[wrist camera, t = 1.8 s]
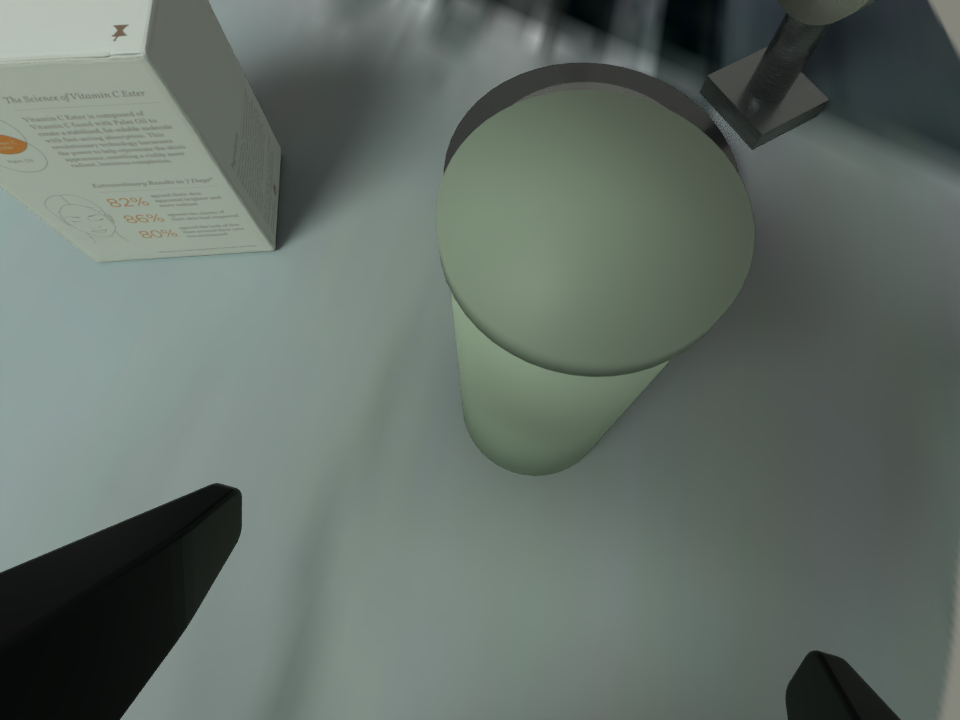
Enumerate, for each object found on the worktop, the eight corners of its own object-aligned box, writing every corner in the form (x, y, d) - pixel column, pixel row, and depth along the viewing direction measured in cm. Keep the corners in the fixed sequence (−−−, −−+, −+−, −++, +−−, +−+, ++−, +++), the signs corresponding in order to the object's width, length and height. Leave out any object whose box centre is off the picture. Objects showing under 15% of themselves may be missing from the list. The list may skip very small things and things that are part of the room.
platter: (505, 360, 24) (506, 349, 22) (408, 121, 28) (404, 101, 27) (785, 263, 25) (800, 248, 24) (653, 51, 29) (660, 28, 28)
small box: (284, 151, 27) (174, -89, 17) (278, 255, 25) (150, 52, 15) (112, 160, 27) (-99, -77, 17) (92, 266, 25) (-157, 67, 15)
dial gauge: (758, 55, 29) (897, -204, 20) (823, 121, 28) (1008, -123, 18) (694, 86, 29) (806, -167, 19) (757, 155, 27) (913, -80, 17)
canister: (489, 502, 22) (502, 410, 9) (439, 362, 24) (395, 137, 11) (633, 448, 22) (816, 298, 10) (572, 317, 24) (666, 58, 12)
